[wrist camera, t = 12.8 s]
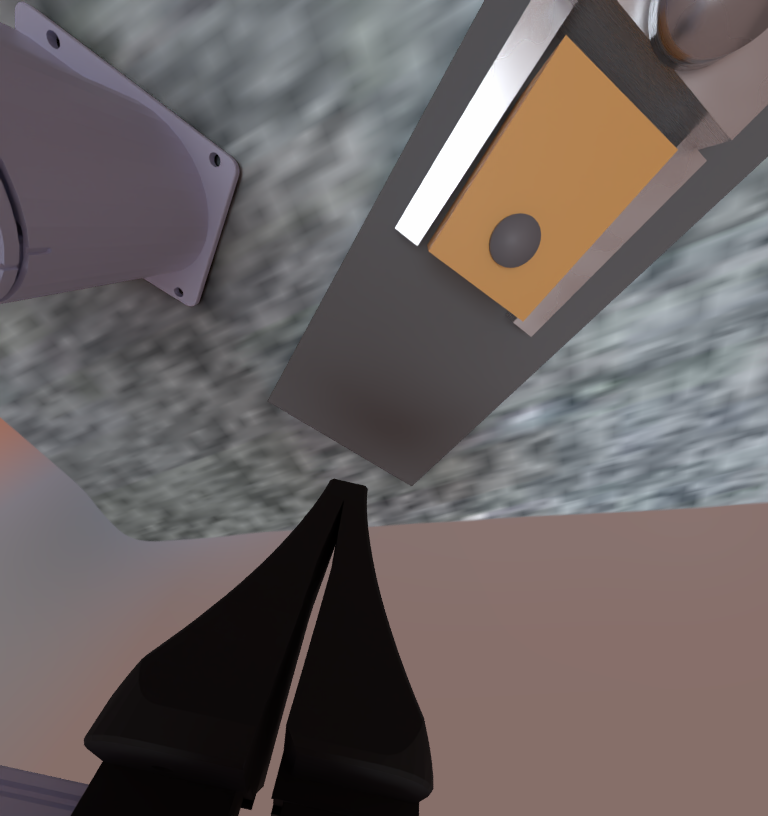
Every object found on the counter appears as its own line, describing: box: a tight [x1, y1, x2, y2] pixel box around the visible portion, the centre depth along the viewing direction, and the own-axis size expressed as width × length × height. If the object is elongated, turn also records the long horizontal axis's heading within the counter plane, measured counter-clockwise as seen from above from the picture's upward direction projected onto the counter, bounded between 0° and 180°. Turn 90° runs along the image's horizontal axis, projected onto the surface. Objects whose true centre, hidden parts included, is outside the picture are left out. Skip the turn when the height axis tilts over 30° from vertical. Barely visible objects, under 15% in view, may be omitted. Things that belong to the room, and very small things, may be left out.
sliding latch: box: [395, 0, 768, 337], centre depth 11 cm, size 8×11×4 cm
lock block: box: [427, 35, 678, 321], centre depth 12 cm, size 4×6×5 cm
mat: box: [268, 0, 768, 486], centre depth 15 cm, size 12×27×1 cm, turn 146°
